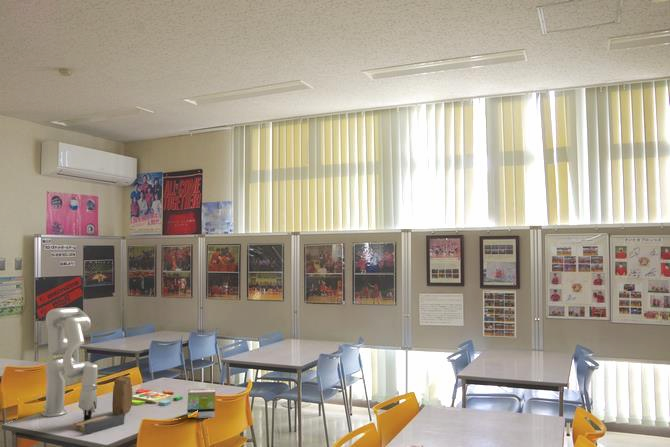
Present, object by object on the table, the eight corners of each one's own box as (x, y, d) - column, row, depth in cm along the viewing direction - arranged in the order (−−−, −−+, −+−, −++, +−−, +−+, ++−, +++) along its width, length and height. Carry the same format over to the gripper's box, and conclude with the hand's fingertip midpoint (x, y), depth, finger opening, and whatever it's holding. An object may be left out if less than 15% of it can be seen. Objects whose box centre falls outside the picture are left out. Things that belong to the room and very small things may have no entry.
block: (121, 415, 307) (123, 379, 309) (110, 414, 309) (112, 378, 311) (133, 410, 318) (135, 375, 319) (122, 409, 320) (124, 375, 321)
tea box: (187, 419, 302) (188, 392, 303) (187, 414, 312) (188, 388, 313) (214, 417, 306) (215, 391, 307) (213, 412, 316) (214, 387, 317)
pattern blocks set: (192, 395, 356) (192, 390, 356) (163, 408, 324) (164, 403, 324) (141, 391, 366) (141, 386, 366) (108, 403, 333) (109, 398, 334)
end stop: (83, 433, 275) (84, 423, 276) (121, 422, 294) (121, 413, 294) (86, 434, 274) (87, 424, 274) (124, 423, 292) (124, 414, 293)
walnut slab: (73, 429, 283) (73, 423, 283) (103, 421, 298) (104, 415, 298) (87, 433, 277) (87, 427, 277) (117, 424, 292) (117, 419, 292)
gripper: (74, 386, 294) (72, 421, 293) (91, 391, 286) (89, 426, 285) (87, 384, 300) (85, 417, 299) (103, 388, 292) (102, 422, 291)
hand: (87, 421), depth 292 cm, fingers closed
